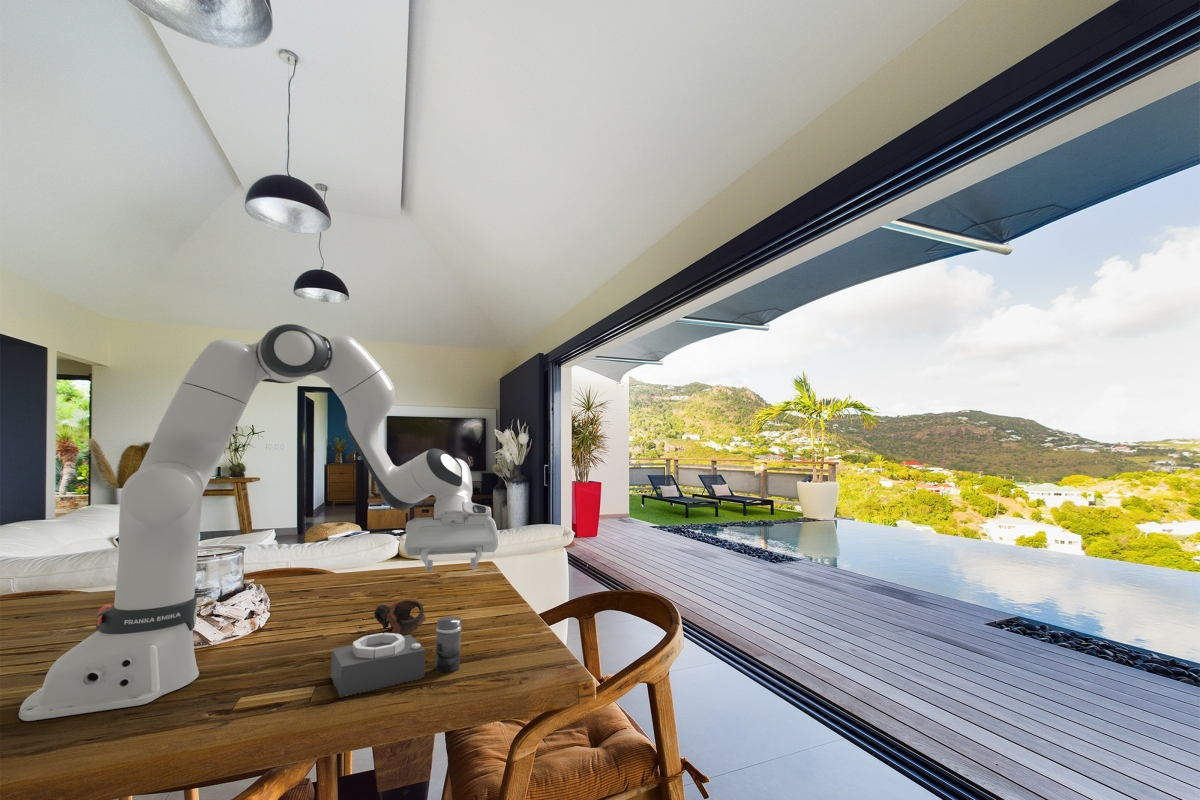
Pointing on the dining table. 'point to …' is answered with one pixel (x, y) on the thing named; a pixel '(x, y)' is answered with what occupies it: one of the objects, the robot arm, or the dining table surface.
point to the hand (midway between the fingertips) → (451, 568)
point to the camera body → (376, 663)
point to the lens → (448, 644)
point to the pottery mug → (400, 616)
